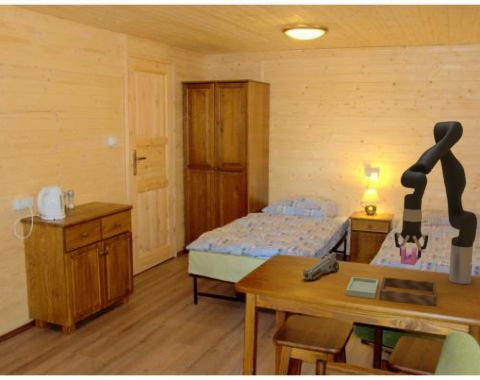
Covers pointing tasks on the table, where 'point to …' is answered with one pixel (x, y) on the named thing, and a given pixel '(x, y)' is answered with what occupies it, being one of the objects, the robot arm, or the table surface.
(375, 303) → the table surface
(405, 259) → the bracket
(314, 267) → the toy
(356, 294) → the tray
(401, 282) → the crate
